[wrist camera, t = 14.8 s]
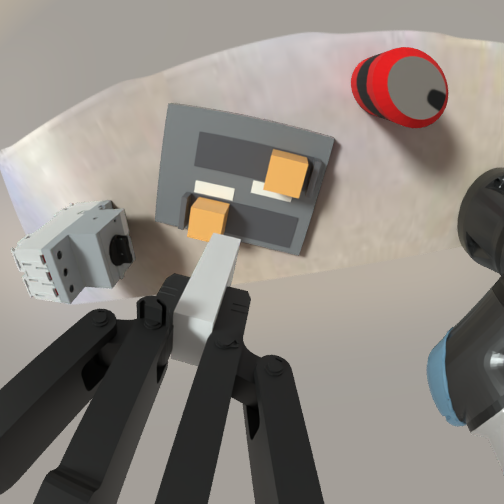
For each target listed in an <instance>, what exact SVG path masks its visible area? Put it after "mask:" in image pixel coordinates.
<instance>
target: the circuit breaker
mask: <svg viewBox="0 0 504 504" xmlns="http://www.w3.org/2000/svg"><path fill="white" fill-rule="evenodd" d="M27 238H28V239H27ZM17 245H18V246H17V247H16V248H15V249H14V248H11V252H12V254H13V257H14V259H15V262H16V265H17V267H18V270H19V272H25V274H24V275H23V276H22V280H23V282H24V284H25V287H26V289H27V291H28V293H29V296H30V297H31V298H32V297H33V296H34V297H35V298H36V299H41V300H48V301H54V302H61V303H68V304H71V303H72V302H73V300H74V299H75V298H76V297H77V296H78V294H79V293H80V292H81V291H82V290H83V288H84V287H97V288H111V289H112V288H113V287H114V285H115V284H116V283H117V282H118V281H119V279H122V278H123V277H124V273H125V271H126V270H127V269H128V268H129V266H130V265H131V264H132V263H133V261H134V260H135V259H136V258H135V254H134V250H133V245H132V241H131V237H129V228H128V224H127V219H126V214H125V210H124V209H113V208H112V204H111V200H106V201H93V202H81V203H76V204H74V205H73V203H71V204H70V207H65V208H63V209H62V210H60V211H59V212H58V213H56V214H55V215H54V218H53V219H52V220H50V221H49V222H48V223H46V224H45V225H43V226H42V227H41V228H39V229H38V230H37V231H36V232H34V233H33V234H28V235H26V236H25V237H24V238H23V239H21V240H20V241H19V242H18V243H17ZM18 260H19V261H18ZM19 263H20V264H19ZM26 280H27V281H26ZM27 282H28V283H27Z"/></svg>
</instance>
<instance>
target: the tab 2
mask: <svg viewBox="0 0 504 504" xmlns="http://www.w3.org/2000/svg"><path fill="white" fill-rule="evenodd" d="M307 168H308V160H307V157H303V156H299V155H296V154H292V153H288V152H284V151H280V150H276V149H273V151H272V155H271V159H270V163H269V167H268V171H267V175H266V180H265V184H264V188H263V190H267V191H271V192H275V193H279V194H283V195H287V196H291V197H295V198H299V196H300V192H301V189H302V185H303V182H304V178H305V175H306V171H307Z"/></svg>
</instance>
